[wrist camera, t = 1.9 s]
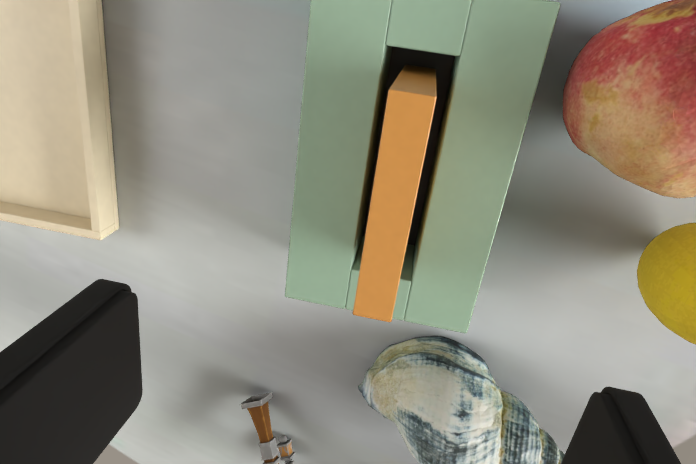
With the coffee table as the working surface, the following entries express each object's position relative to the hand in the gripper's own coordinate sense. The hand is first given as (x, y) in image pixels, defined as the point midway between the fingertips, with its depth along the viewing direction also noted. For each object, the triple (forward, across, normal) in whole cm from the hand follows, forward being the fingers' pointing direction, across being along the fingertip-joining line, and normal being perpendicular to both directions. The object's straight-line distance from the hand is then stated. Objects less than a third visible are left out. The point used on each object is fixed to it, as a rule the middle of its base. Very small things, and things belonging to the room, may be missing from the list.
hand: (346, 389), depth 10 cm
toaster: (+19, 0, 0) cm, 19 cm away
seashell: (+20, -7, +16) cm, 26 cm away
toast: (+19, 0, 0) cm, 19 cm away
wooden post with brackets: (+20, +5, +22) cm, 30 cm away
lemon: (+20, -16, +2) cm, 25 cm away
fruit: (+20, -10, -6) cm, 23 cm away
